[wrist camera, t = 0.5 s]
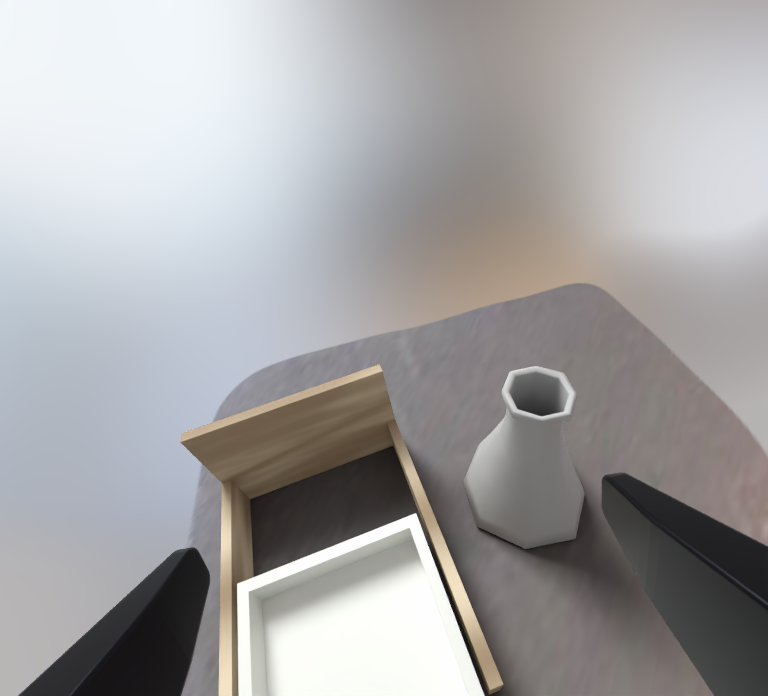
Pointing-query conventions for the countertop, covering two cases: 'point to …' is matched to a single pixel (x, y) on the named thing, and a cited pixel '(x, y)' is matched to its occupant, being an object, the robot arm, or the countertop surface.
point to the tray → (354, 623)
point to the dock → (297, 462)
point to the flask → (528, 464)
